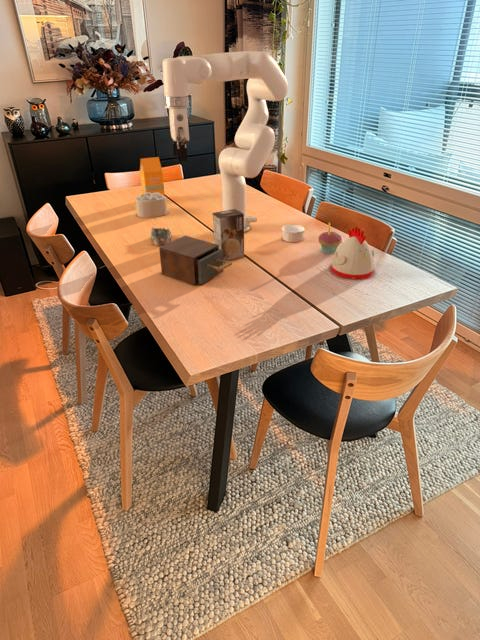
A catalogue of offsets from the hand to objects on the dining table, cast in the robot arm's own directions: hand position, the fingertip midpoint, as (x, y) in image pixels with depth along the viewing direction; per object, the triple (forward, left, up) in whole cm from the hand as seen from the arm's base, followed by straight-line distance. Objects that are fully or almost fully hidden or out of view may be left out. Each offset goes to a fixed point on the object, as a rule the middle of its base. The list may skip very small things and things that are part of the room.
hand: (180, 158), depth 155 cm
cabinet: (+6, +21, -32) cm, 39 cm away
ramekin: (-40, +9, -33) cm, 53 cm away
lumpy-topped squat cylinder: (+2, -44, -33) cm, 54 cm away
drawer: (+3, +26, -31) cm, 41 cm away
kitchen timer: (-44, +42, -33) cm, 69 cm away
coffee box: (-11, +14, -33) cm, 37 cm away
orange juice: (-4, -62, -33) cm, 70 cm away
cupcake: (-46, +25, -33) cm, 62 cm away
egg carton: (+7, -11, -33) cm, 35 cm away
